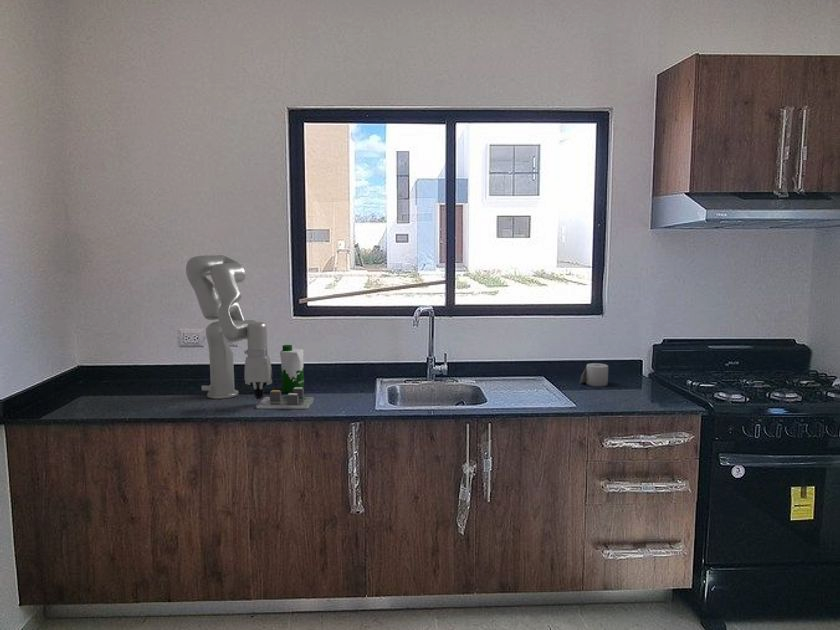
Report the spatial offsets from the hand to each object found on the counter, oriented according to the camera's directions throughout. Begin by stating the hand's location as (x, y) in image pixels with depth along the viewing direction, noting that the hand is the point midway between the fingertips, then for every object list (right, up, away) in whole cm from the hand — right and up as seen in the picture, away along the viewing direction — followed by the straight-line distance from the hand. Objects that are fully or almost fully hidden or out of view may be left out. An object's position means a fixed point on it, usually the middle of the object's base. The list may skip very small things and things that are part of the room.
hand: (259, 398), depth 250 cm
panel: (+11, -2, 0) cm, 11 cm away
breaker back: (+15, 0, +5) cm, 15 cm away
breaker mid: (+7, -1, 0) cm, 7 cm away
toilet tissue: (+143, +2, +34) cm, 147 cm away
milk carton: (+9, 0, +22) cm, 23 cm away
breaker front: (+14, -2, -5) cm, 15 cm away
